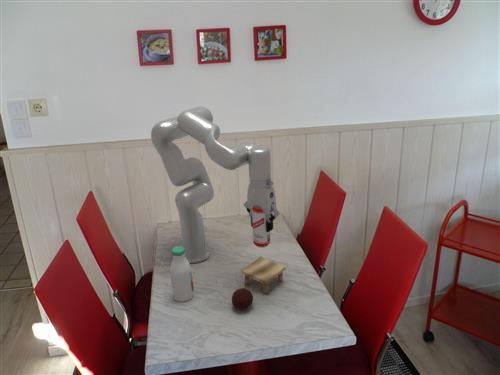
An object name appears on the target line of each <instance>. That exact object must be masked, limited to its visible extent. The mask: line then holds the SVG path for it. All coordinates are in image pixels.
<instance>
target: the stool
mask: <svg viewBox="0 0 500 375" xmlns="http://www.w3.org/2000/svg"><path fill="white" fill-rule="evenodd" d="M284 271H286V265H283V264H281V263H277V262H275V261H274V260H270V259H268V258H266V257H263V256H260V257H258V258H257V259H255V260H254V261H253V262H251V263H250V264H248V265H247V266H245V267H244V268H243V269H241V270H240V272H241V273H240V274H241V275H243V276H244V285H245V286H250V285H251V284H250V283H251V282H250V281H251V280H250V279H252V280H255V281H256V282H257V281H258V282H259V283H261V284H262V286H263V288H262V289H263V294H264V295H268V294H269V284H270V283H271V282H272V281H273V280H274V279H276V278H277V282H278V283H283V280H284V279H283V278H284V277H283V276H284V274H283V272H284Z"/></svg>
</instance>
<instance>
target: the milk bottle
mask: <svg viewBox="0 0 500 375" xmlns="http://www.w3.org/2000/svg"><path fill="white" fill-rule="evenodd" d="M171 256H172V259H171V260H172V261H171V264H170V268H169V275H170V282H171V292H172V297H173V299H174V300H175V301H177V302H181V303H182V302H188V301H190V300H191V299H192V298H193V297H194V296H195V290H194V279H193V271H192V266H191V265H190V264H191V263H189V262H188V260H187V259H186V257H185V249H184V247H182V246H179V245H177V246H174V247H172V249H171Z"/></svg>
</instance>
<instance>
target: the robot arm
mask: <svg viewBox="0 0 500 375" xmlns="http://www.w3.org/2000/svg"><path fill="white" fill-rule="evenodd" d="M220 135H221V129H220V127H219V125H217V124H215V123H214V117H213V114H212V111H211V110H210V109H209V108H206V107H205V106H197V107H194V108H189V109H186V110H184V111H182V112H180V113H179V114H178V116H174V117H171V118H170V117H169V118H168V119H164V120H161V121H159V122H157V123H156V124H154V125H153V127H152V129H151V132H150V138H151V143H152V145H153V147H154V148H155V149H156V151H157V153H158V154H159V157H160V158H161V162H162V164H163V166H164V168H165V171H166V173H167V176H168V178H169V181H170V182H171V184H172V185H174V186H175V187H182V186H186V185H187V184H189V183H192V184H191V185H188V186H187V187H184V188H183V189H181V190H179V191H178V192H177V193H176V195H175V198H174V202H175V206H176V209H177V212H178V216H179V223H180V232H181V242H180V244H179V245H178V246H182V247H184V249H185V257H186V259H187V260H188V262H189V264H198V263H202V262H204V261H206V260H207V259H208V258H210V257H211V251H210V249H209V248H207V246H206V236H205V226H204V217H203V214H201V212H200V211H199V208H200V207H202V206H204V205H206V204H208V203H209V202H211V201H212V200H213V198H214V197H215V196H214V195H215V192H214V188H213V185H212V182H211V179H210V176H209V174H208V172H207V169H206V167H205V164H204V163H203V162H202V161H201V160H200V159H199V158H197V157H194V156H193V157H188V158H185V157H184V154H183V151H182V150H181V149H180V147H179V146H178V145H176V144H175V143H174V142H173V141H175V140H179V139H182V138H185V137H188V136H190V137H191V138H193V139H194V140H196V141H198V142H199V143H201V144H202V145H203V146H204V149H205V151H206V152H205V153H206V154H207V156H208V158H210V160H212V161H213V163H215V164H216V165H218V166H219V167H221V168H223V169H226V170H229V171H233V170H236V169H237V170H238V169H239V168H241V167H243V166H246V165H248V177H249V178H248V179H249V180H248V181H249V182H248V183H249V184H248V187H247V195H246V198H247V200H246V201H245V202H243V207H244V208H245V209H246V211H247V213H248V214H249V215H248V216H249V217H250V225H251V226H250V227H252V228H253V224H252V208H253V206H255V207H258V208H262V211H263V212H264V214H265V215H266V219H267V222H266V231H267V232H269V231H270V232H271V231H272V230H273V229H274V221H275V219H276V218H278V217H279V216H280V215H281V213H280V211H279V210H278V208H277V197H276V191H275V188H274V181H272V166H271V164H272V163H271V150H270V147H268V146H264V145H257V144H255V143H252V142H248V141H243V142H240V143H237V144H234V145H232V146H230V147H226V146H224V145H223V144H221V143H220V142H218V140H219V137H220ZM269 215H270V217H269Z"/></svg>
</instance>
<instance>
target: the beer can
mask: <svg viewBox="0 0 500 375" xmlns="http://www.w3.org/2000/svg"><path fill="white" fill-rule="evenodd" d="M269 217H270V215H269ZM266 222H267V219H266V215H265V214H264V212H263V211H262V208H258V207H255V206H253V208H252V224H253V227H252V241H253V245H254V246H256V247H257V248H266V247H267V246H269V245H270V244H271V231H269V232H267V231H266Z"/></svg>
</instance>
